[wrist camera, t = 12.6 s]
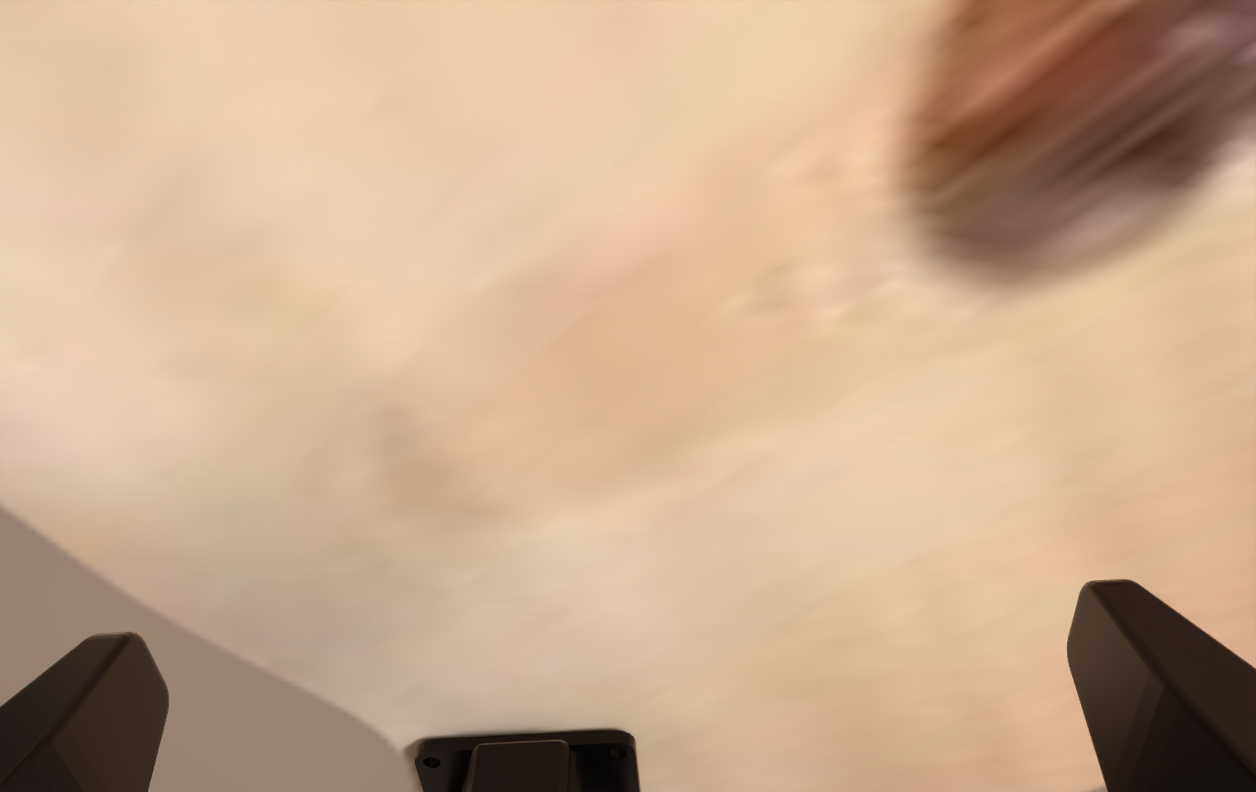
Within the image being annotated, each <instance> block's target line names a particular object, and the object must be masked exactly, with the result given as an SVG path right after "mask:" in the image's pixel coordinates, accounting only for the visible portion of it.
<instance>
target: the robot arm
mask: <svg viewBox="0 0 1256 792" xmlns="http://www.w3.org/2000/svg"><path fill="white" fill-rule="evenodd" d="M1067 657H1068V663H1069V667H1070V671H1071V674H1072V677H1073V680H1074V684H1075V687H1076V690H1077V693H1078V697H1079V700H1080V703H1081V706H1082V710H1083V713H1084V716H1085V719H1086V723H1087V726H1088V729H1089V732H1090V736H1091V739H1092V742H1093V745H1094V749H1095V752H1096V755H1097V758H1098V762H1099V765H1100V768H1101V771H1102V775H1103V778H1104V781H1105V785H1106V788H1107V791H1108V792H1256V668H1255V667H1253V666H1252V665H1250V664H1249V663H1248V662H1246V661H1245V660H1243V659H1242V658H1241V657H1239V656H1238V655H1237V654H1235V653H1234V652H1232V651H1231V650H1230V649H1228V648H1227V647H1225V646H1224V645H1223V644H1221V643H1220V642H1219V641H1217V640H1216V639H1214V638H1213V637H1212V636H1210V635H1209V634H1207V633H1206V632H1205V631H1203V630H1202V629H1201V628H1199V627H1198V626H1196V625H1195V624H1194V623H1192V622H1191V621H1189V620H1188V619H1187V618H1185V617H1184V616H1182V615H1181V614H1180V613H1178V612H1177V611H1176V610H1174V609H1173V608H1171V607H1170V606H1169V605H1167V604H1166V603H1164V602H1163V601H1162V600H1160V599H1159V598H1158V597H1156V596H1155V595H1153V594H1152V593H1151V592H1149V591H1148V590H1146V589H1145V588H1144V587H1142V586H1141V585H1139V584H1138V583H1136V582H1134V581H1131V580H1127V579H1116V580H1097V581H1090V582H1087V583H1086V584H1085V585H1084V586H1083V587H1082V589H1081V591H1080V594H1079V597H1078V601H1077V605H1076V609H1075V613H1074V617H1073V621H1072V624H1071V628H1070V632H1069V636H1068V641H1067ZM168 708H169V694H168V689H167V686H166V684H165V681H164V679H163V678H162V675H161V674H160V672H159V669H158V667H157V665H156V664H155V661H154V659H153V657H152V655H151V653H150V651H149V649H148V647H147V645H146V643H145V641H144V640H143V638H142V637H141V636H139V635H138V634H136V633H133V632H119V633H101V634H96V635H92V636H90V637H88V638H87V639H86V640H84V641H83V642H82V643H80V644H79V645H78V646H76V647H75V648H74V649H73V650H71V651H70V652H69V653H68V654H66V655H65V656H64V657H63V658H61V659H60V660H59V661H57V662H56V663H55V664H54V665H53V666H51V667H50V668H49V669H47V670H46V671H45V672H44V673H42V674H41V675H40V676H38V677H37V678H36V679H35V680H34V681H32V682H31V683H30V684H28V685H27V686H26V687H25V688H23V689H22V690H21V691H20V692H18V693H17V694H16V695H15V696H13V697H12V698H11V699H10V700H8V701H7V702H6V703H5V704H3V705H2V706H1V707H0V792H148V789H149V785H150V781H151V777H152V773H153V769H154V765H155V761H156V757H157V753H158V749H159V745H160V741H161V738H162V734H163V730H164V726H165V722H166V718H167V714H168ZM415 765H416V768H417V771H418V775H419V778H420V781H421V784H422V788H423V791H424V792H641V789H640V780H639V770H638V761H637V751H636V742H635V739H634V737H633V736H632V735H631V734H629V733H626V732H622V731H609V732H589V733H569V734H548V735H528V736H508V737H487V738H467V739H447V740H430V741H425V742H423V743H421V744H420V745H419V746H418V748H417V753H416V757H415Z"/></svg>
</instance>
